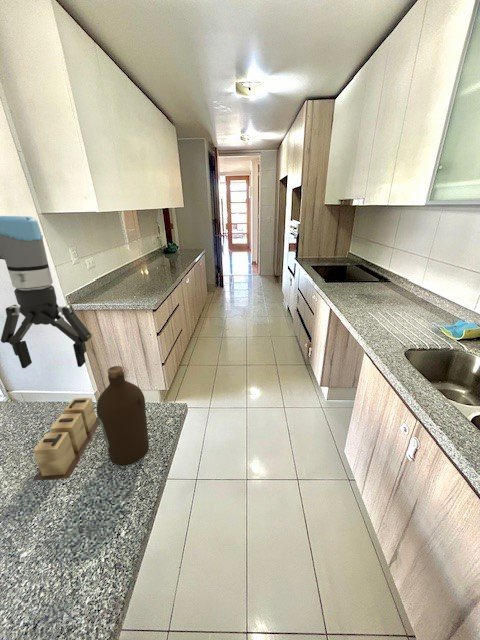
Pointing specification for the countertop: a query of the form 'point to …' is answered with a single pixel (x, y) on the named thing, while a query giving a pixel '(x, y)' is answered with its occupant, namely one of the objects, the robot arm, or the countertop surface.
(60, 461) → the letter T
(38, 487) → the countertop surface
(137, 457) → the olive oil
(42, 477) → the word board
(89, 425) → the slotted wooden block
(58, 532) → the countertop surface
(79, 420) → the letter I
